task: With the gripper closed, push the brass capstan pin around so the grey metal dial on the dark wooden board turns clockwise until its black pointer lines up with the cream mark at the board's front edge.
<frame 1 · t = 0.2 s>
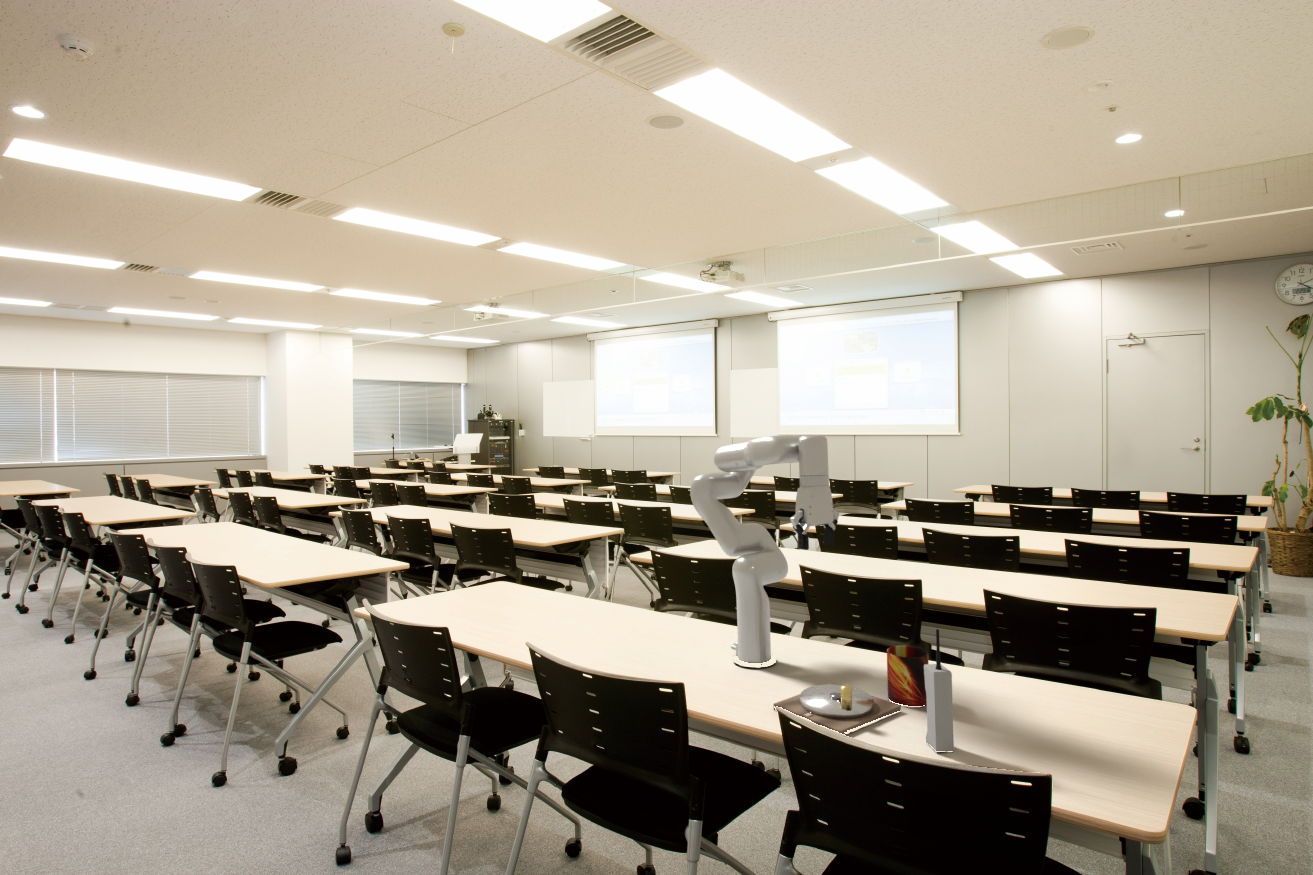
hand: (816, 547, 179), 36 cm above the table, tool pointing down, fingers open, 9 cm apart
vintage mobile phone: (939, 748, 143), on the table
dial: (836, 689, 163), point 5 cm above the table, hinge at 60.0°
mug: (916, 703, 167), on the table
base board: (836, 710, 163), on the table
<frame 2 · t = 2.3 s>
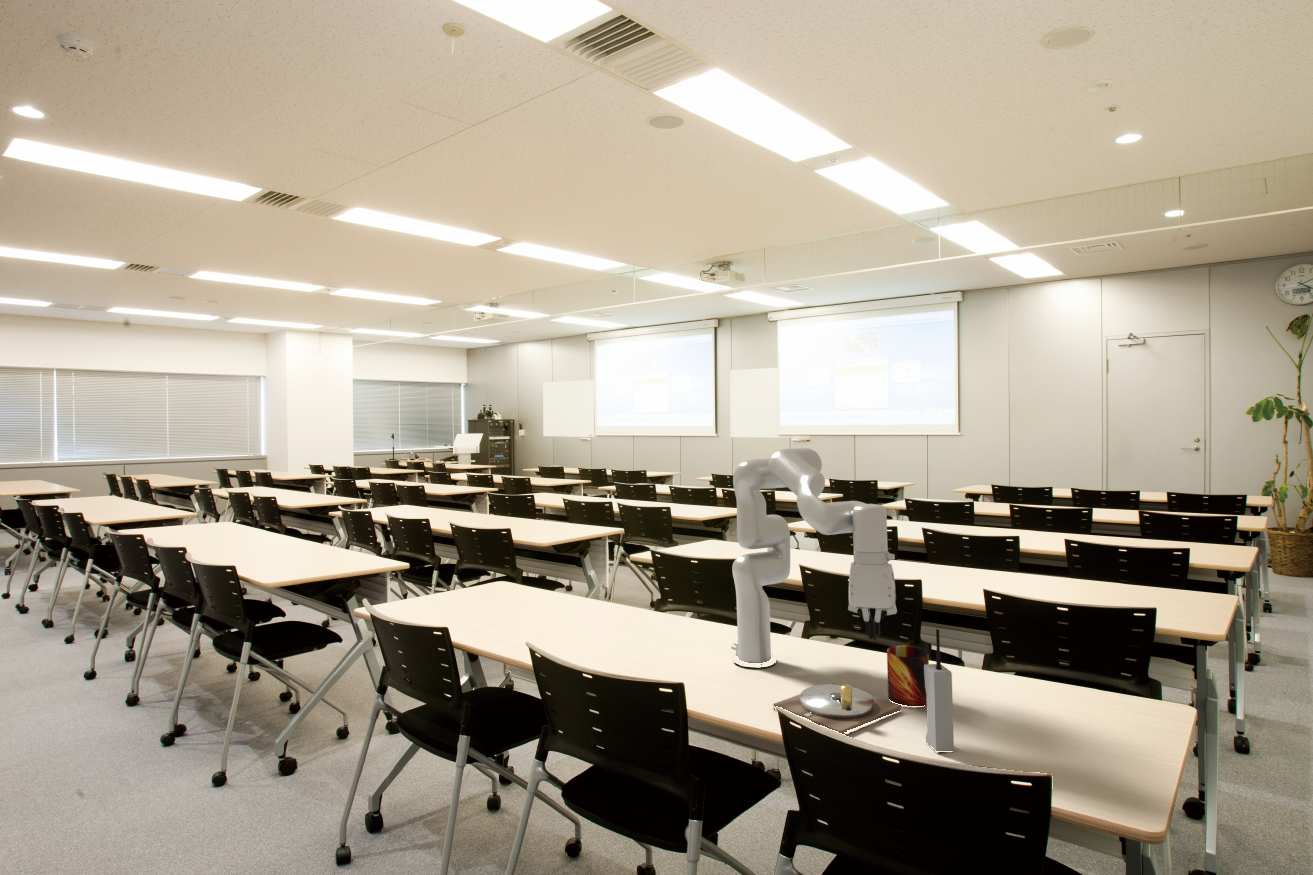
hand: (873, 637, 157), 19 cm above the table, tool pointing down, fingers closed
nothing on the table moved.
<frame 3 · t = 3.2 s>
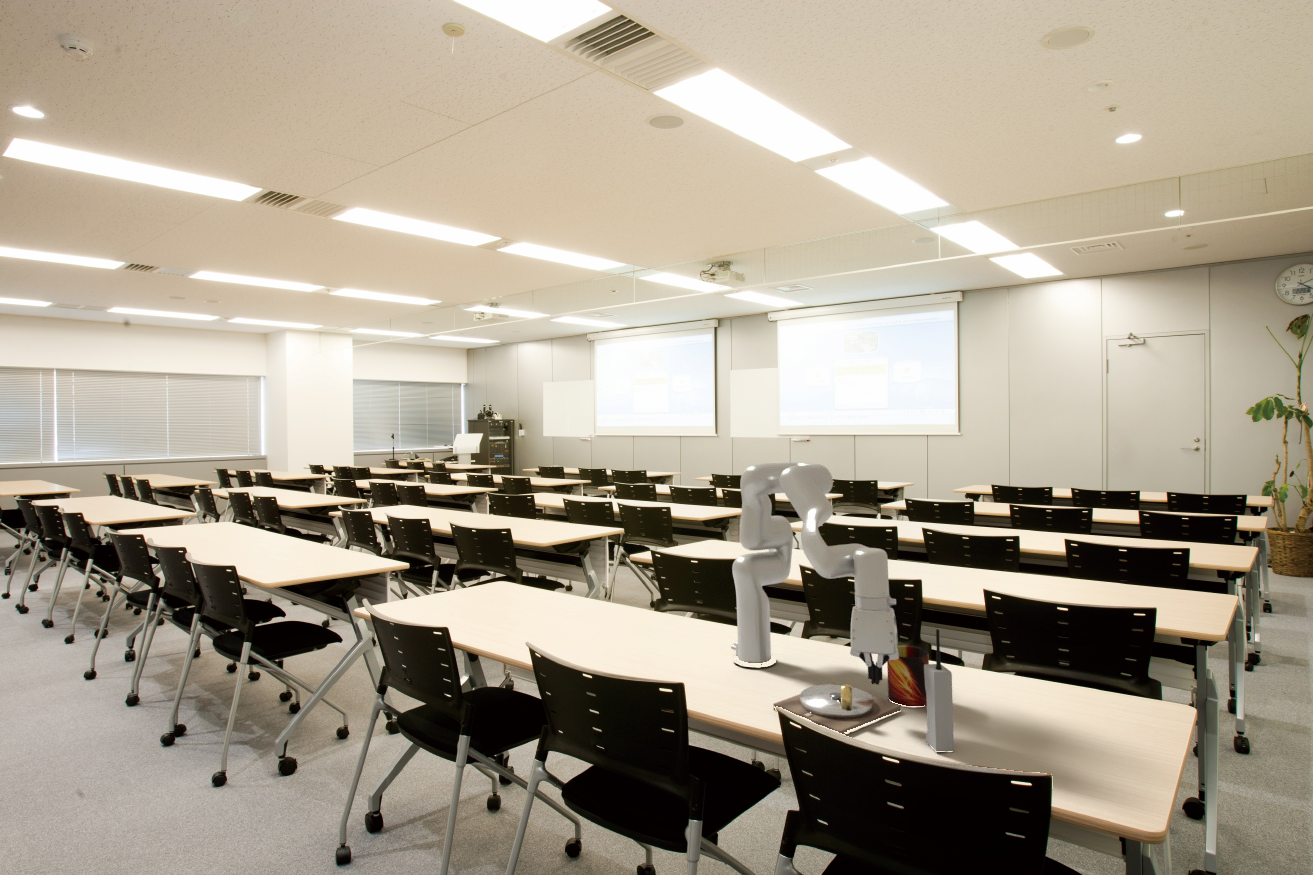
hand: (875, 682, 157), 9 cm above the table, tool pointing down, fingers closed
nothing on the table moved.
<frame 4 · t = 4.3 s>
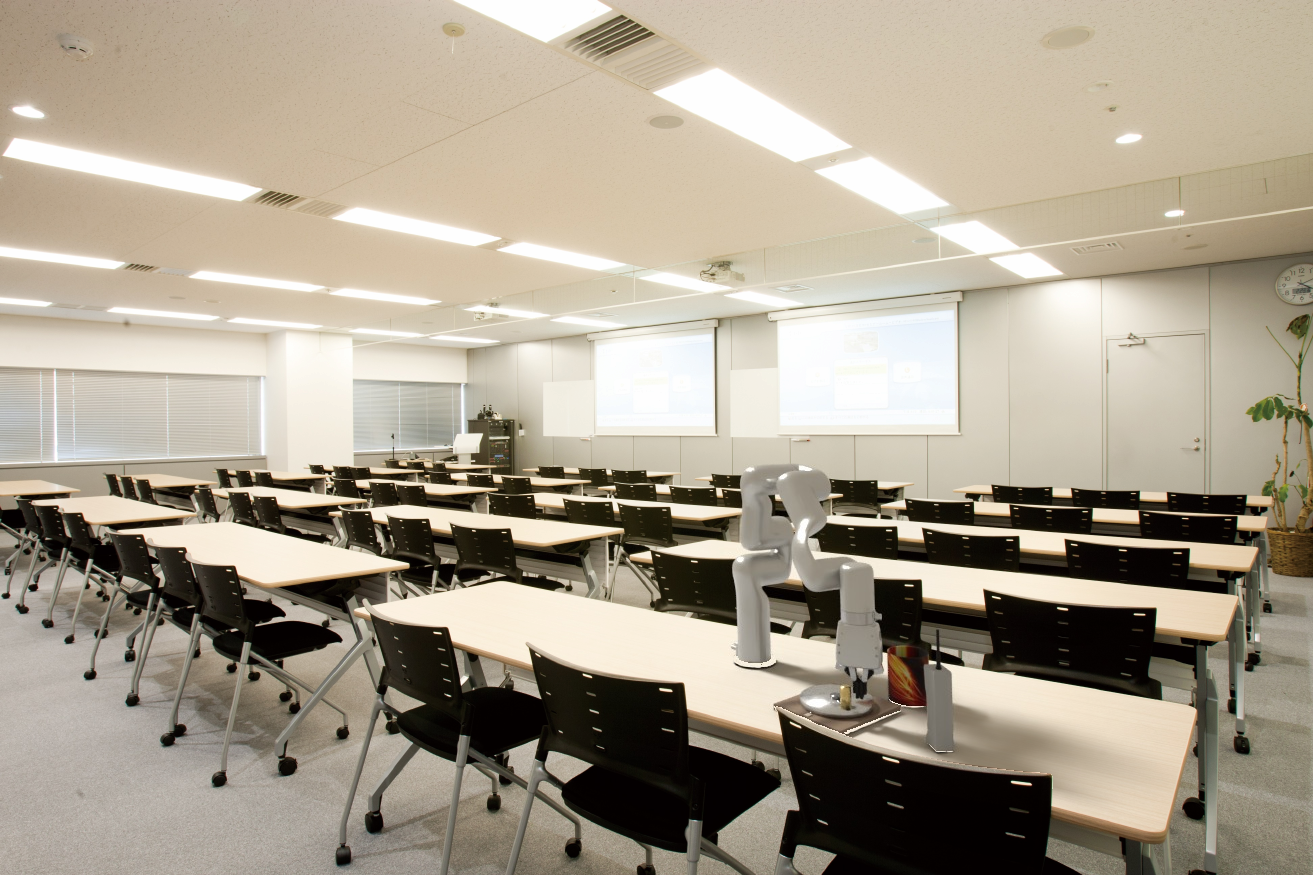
hand: (860, 696, 157), 6 cm above the table, tool pointing down, fingers closed
dial: (836, 689, 163), point 5 cm above the table, hinge at 58.8°, touching gripper
everything else where it was.
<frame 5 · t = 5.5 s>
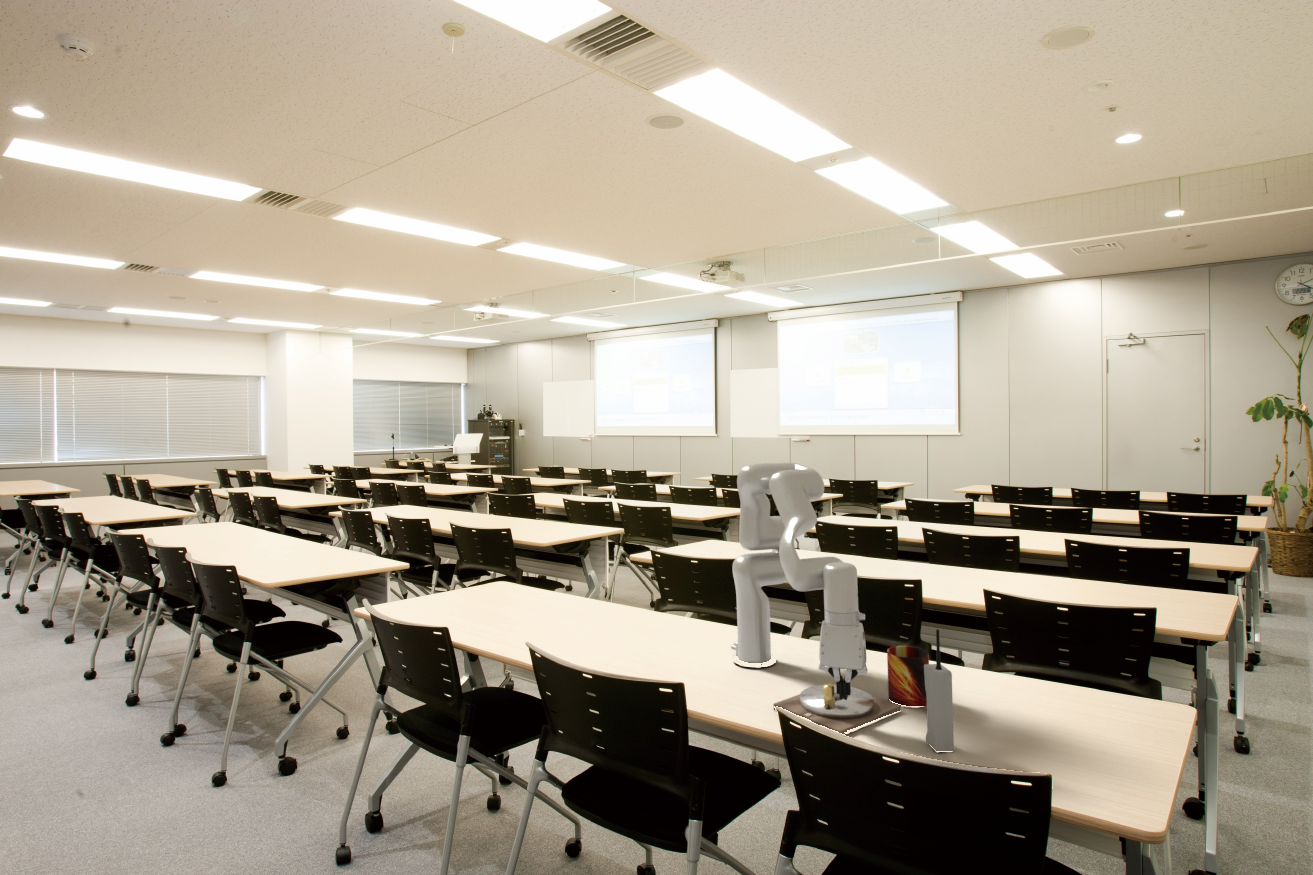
hand: (843, 697, 156), 6 cm above the table, tool pointing down, fingers closed
dial: (836, 689, 163), point 5 cm above the table, hinge at 25.3°, touching gripper
everything else where it was.
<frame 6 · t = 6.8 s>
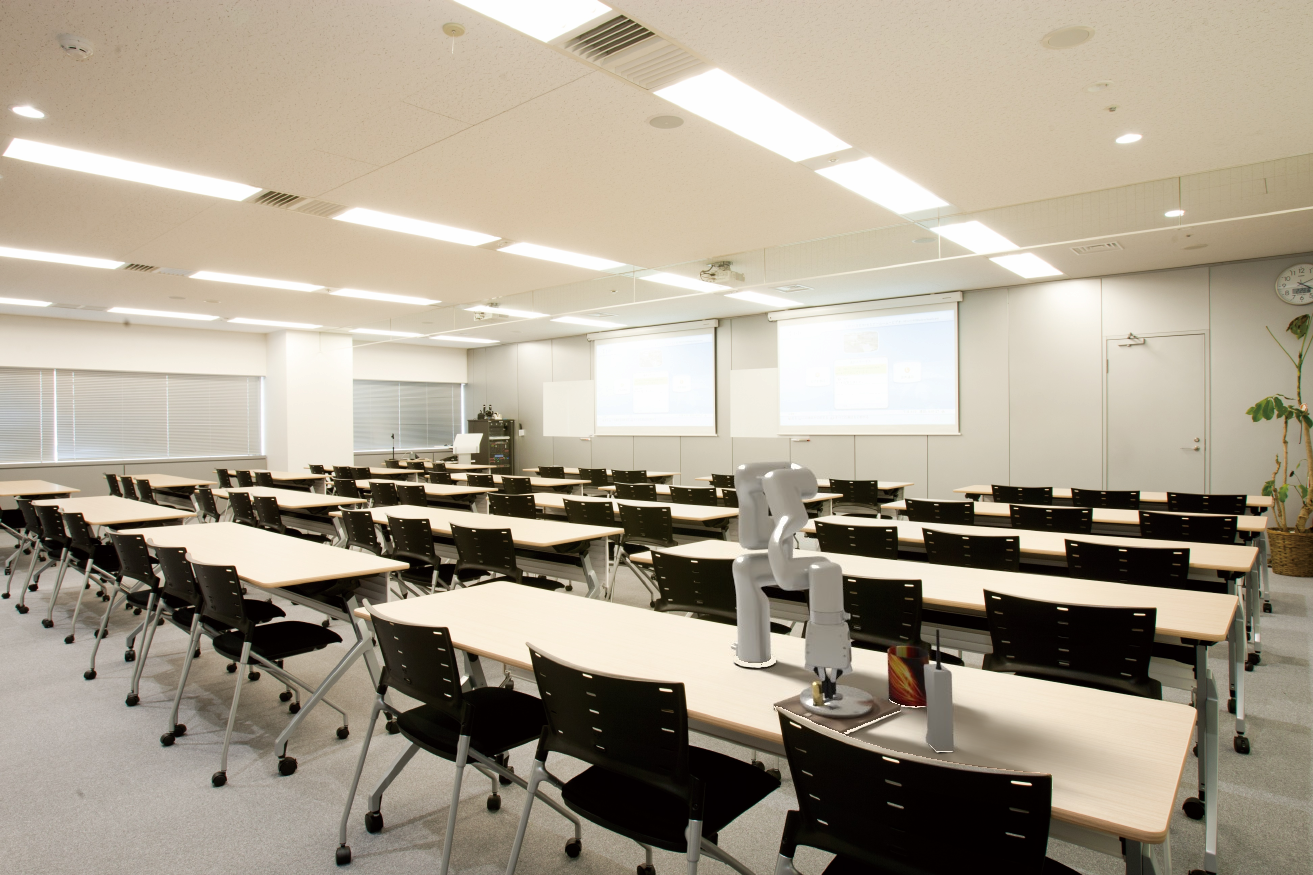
hand: (829, 696, 156), 6 cm above the table, tool pointing down, fingers closed
dial: (836, 689, 163), point 5 cm above the table, hinge at -0.1°
everything else where it was.
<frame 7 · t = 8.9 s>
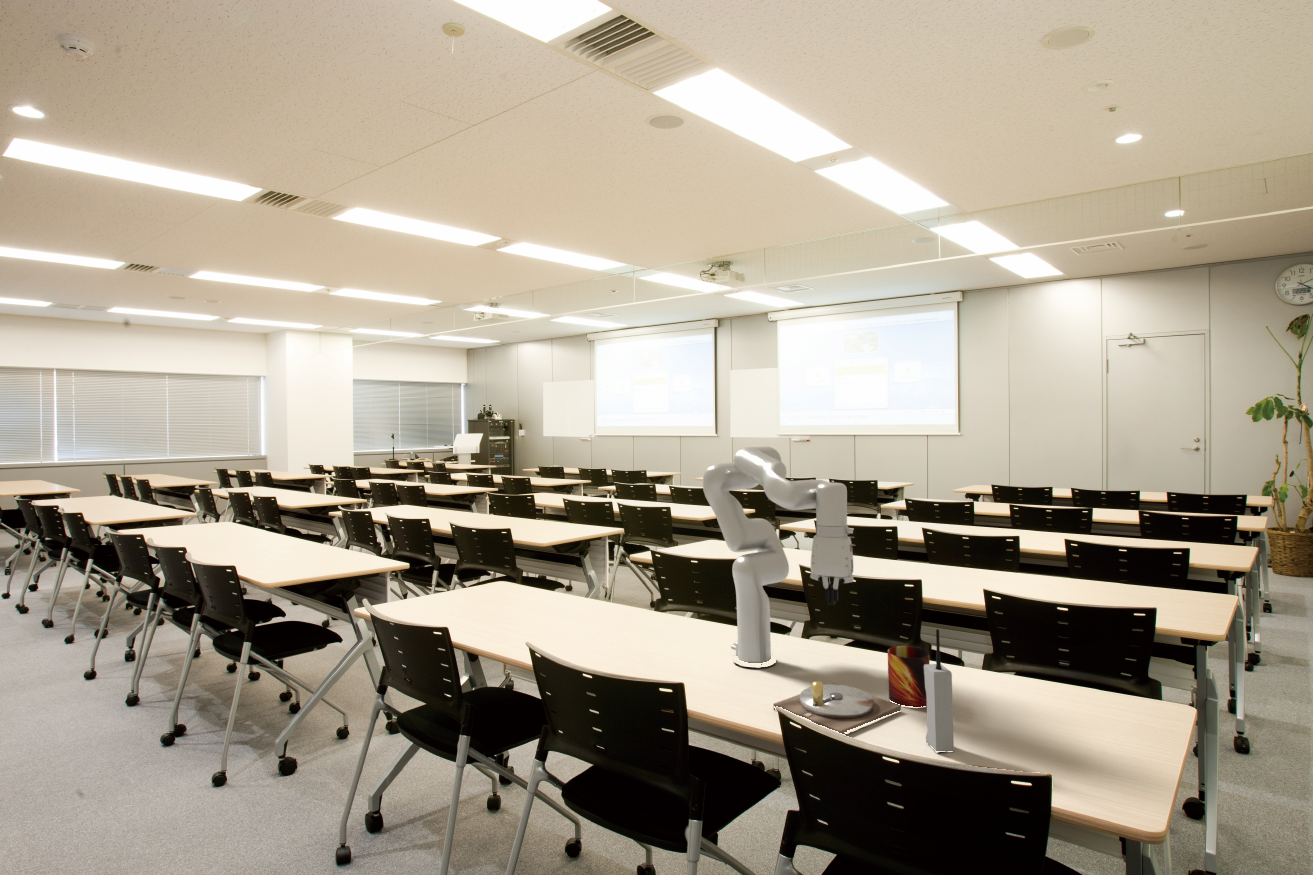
hand: (831, 603, 173), 23 cm above the table, tool pointing down, fingers closed
nothing on the table moved.
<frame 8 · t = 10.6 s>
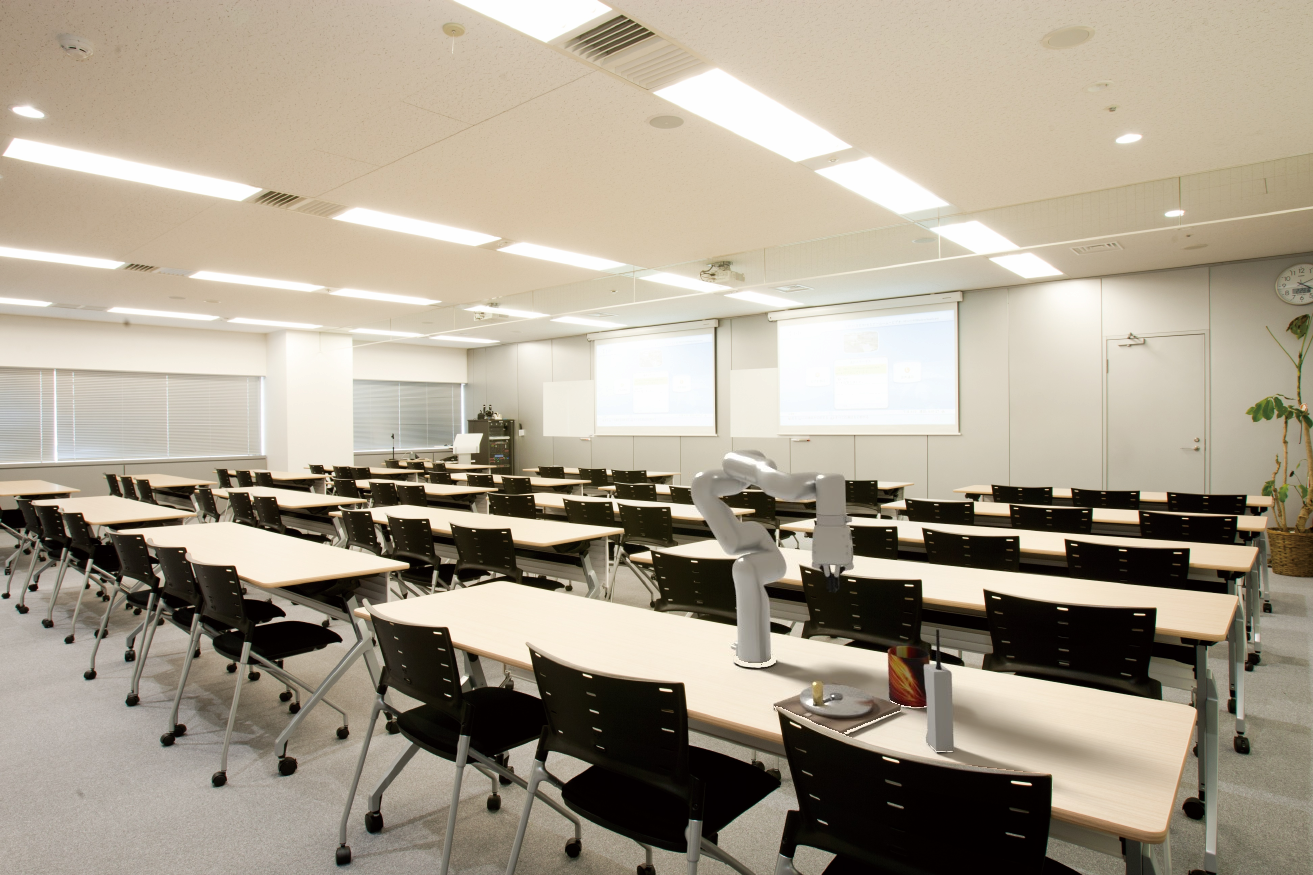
hand: (833, 590, 178), 25 cm above the table, tool pointing down, fingers closed
nothing on the table moved.
at the end: dial at +0° (first picture: +60°); mug moved 0.6 cm from its start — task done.
